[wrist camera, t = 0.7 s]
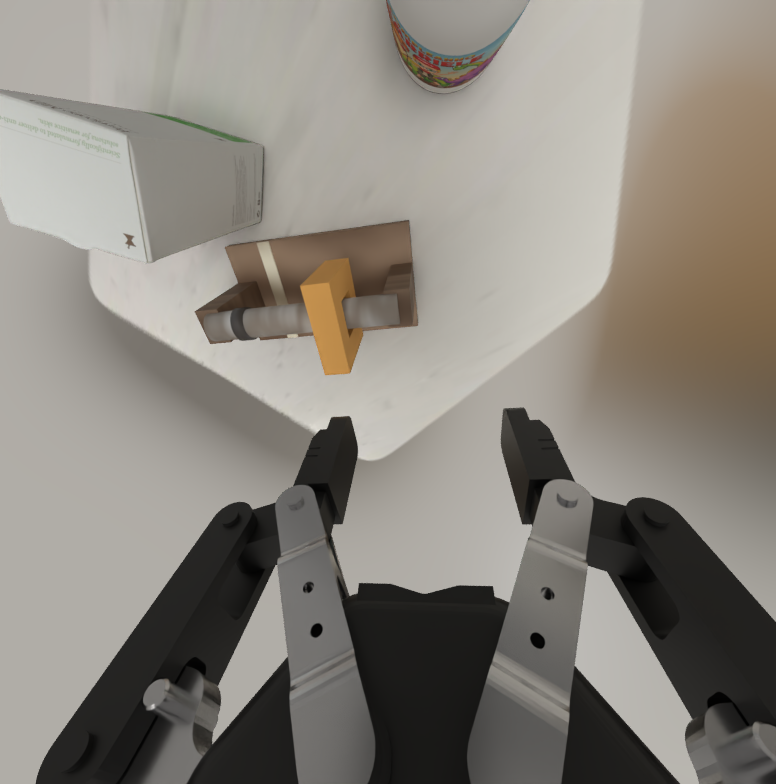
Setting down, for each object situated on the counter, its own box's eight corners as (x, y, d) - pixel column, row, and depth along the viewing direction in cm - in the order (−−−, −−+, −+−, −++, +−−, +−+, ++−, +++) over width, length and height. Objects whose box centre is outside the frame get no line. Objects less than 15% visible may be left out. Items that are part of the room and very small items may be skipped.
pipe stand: (229, 245, 33) (162, 273, 24) (408, 220, 30) (403, 241, 22) (264, 336, 38) (219, 385, 30) (417, 322, 36) (416, 371, 27)
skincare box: (266, 146, 28) (135, 130, 15) (262, 228, 32) (155, 271, 19) (166, 113, 27) (-59, 68, 15) (174, 201, 31) (2, 227, 18)
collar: (325, 260, 28) (300, 285, 22) (348, 257, 27) (328, 282, 22) (342, 336, 31) (325, 375, 26) (363, 334, 31) (349, 373, 25)
